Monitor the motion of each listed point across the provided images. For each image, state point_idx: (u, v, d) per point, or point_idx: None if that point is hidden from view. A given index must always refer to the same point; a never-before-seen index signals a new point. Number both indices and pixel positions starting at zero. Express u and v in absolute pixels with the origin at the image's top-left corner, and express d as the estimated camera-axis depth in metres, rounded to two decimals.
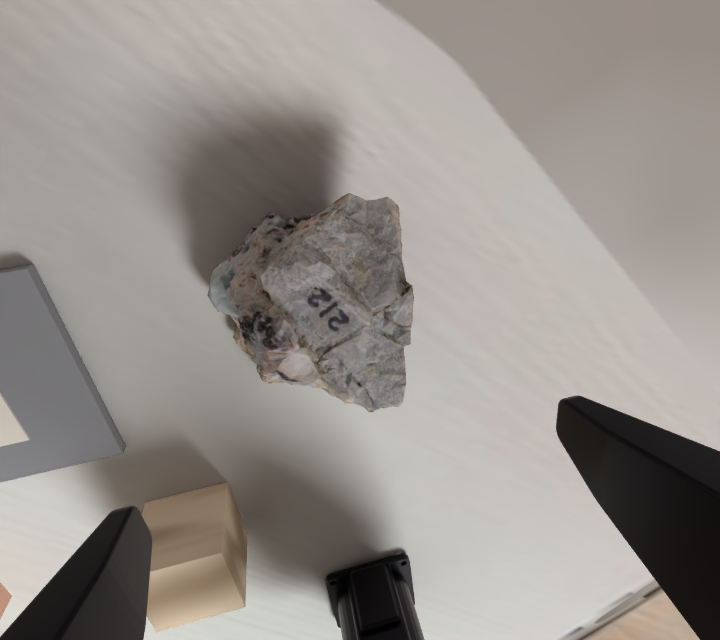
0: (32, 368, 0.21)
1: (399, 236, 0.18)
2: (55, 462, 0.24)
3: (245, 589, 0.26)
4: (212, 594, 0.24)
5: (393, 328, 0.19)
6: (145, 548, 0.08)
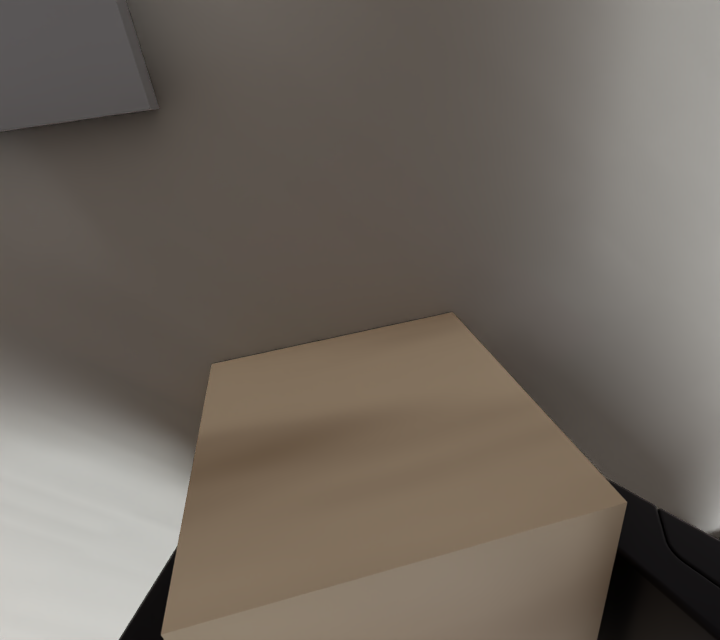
0: None
1: None
2: None
3: None
4: None
5: None
6: None
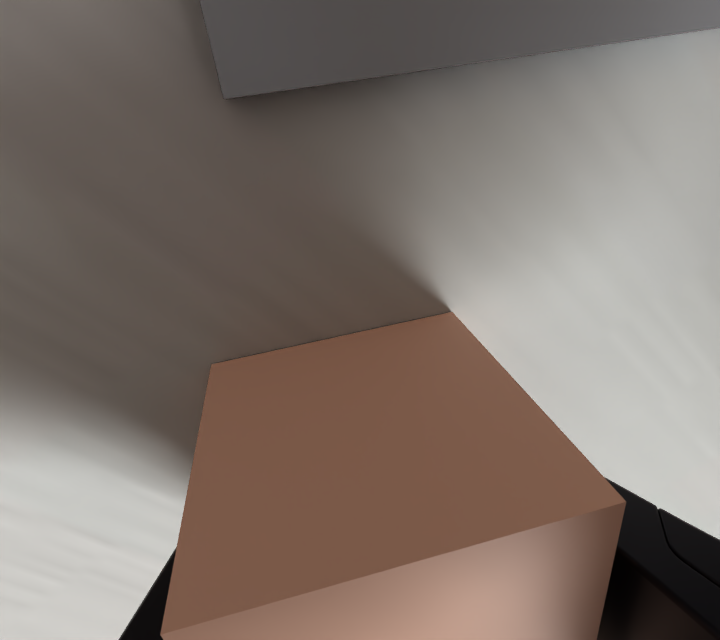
0: None
1: None
2: None
3: None
4: None
5: None
6: None
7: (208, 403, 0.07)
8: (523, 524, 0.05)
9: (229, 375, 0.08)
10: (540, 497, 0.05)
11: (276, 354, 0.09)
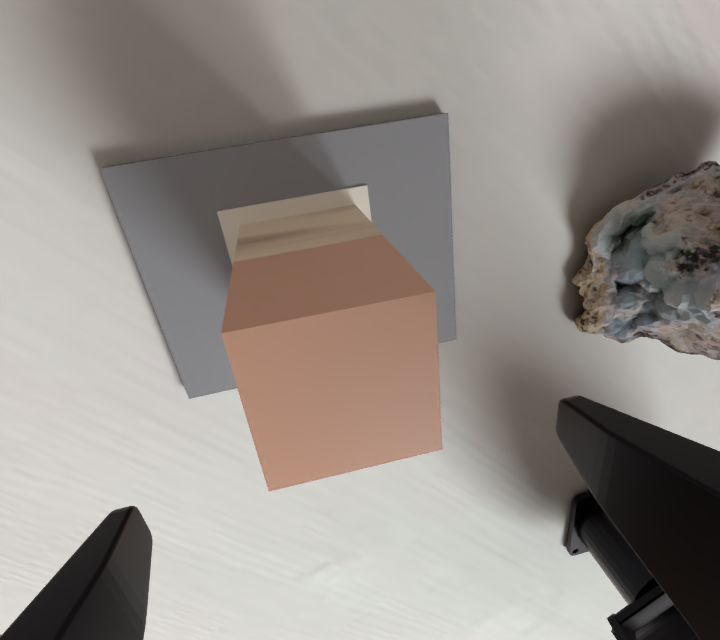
0: (412, 232, 0.20)
1: None
2: None
3: None
4: None
5: None
6: (145, 548, 0.08)
7: (233, 275, 0.13)
8: (386, 299, 0.10)
9: (245, 265, 0.14)
10: (397, 292, 0.11)
11: (273, 256, 0.14)
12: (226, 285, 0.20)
